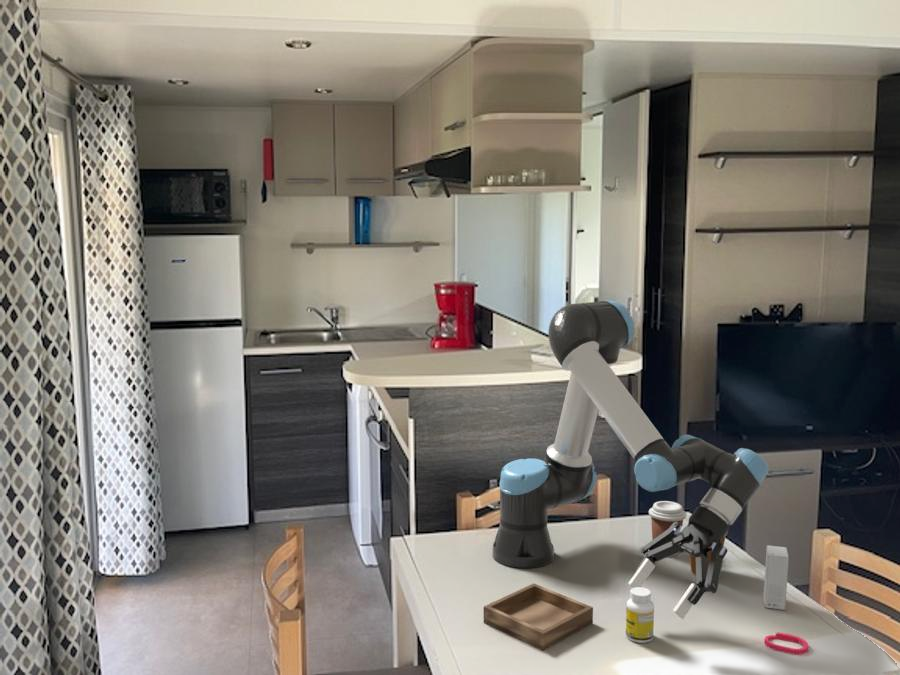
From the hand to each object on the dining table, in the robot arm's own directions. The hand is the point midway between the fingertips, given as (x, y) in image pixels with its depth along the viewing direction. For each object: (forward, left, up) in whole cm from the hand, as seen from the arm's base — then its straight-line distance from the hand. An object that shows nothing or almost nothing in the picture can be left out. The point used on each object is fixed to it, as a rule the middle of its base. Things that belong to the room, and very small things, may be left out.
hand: (654, 600), depth 171 cm
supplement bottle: (-2, -2, -8) cm, 8 cm away
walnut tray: (-20, -12, -8) cm, 25 cm away
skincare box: (+10, +32, -8) cm, 34 cm away
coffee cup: (-22, +40, -8) cm, 46 cm away
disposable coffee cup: (-9, +36, -8) cm, 38 cm away
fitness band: (+20, +16, -8) cm, 27 cm away
